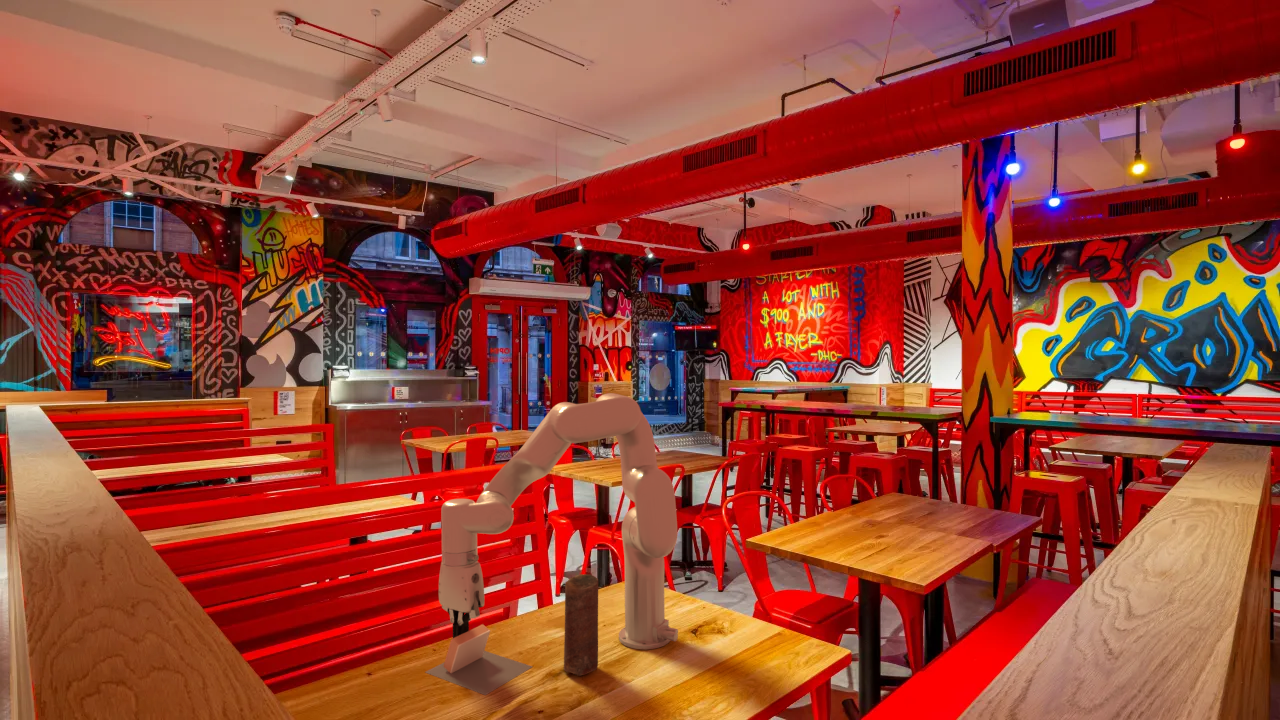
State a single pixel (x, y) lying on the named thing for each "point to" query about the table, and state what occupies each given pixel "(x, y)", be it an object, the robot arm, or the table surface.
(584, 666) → the brown weathered post
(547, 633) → the table surface
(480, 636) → the tile
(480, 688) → the board
